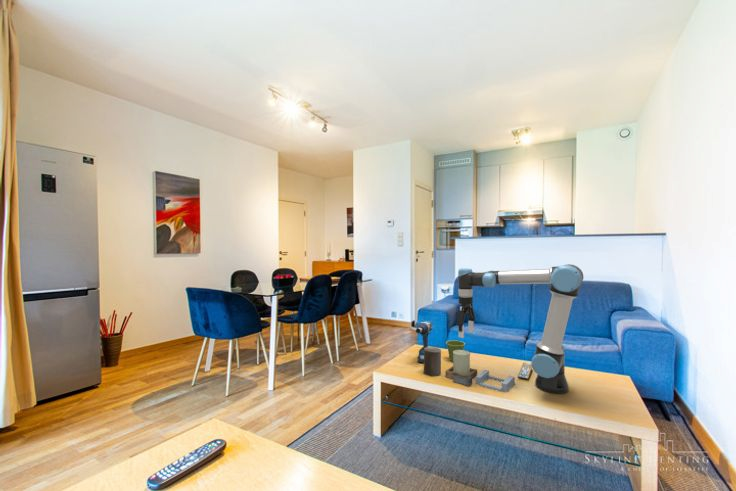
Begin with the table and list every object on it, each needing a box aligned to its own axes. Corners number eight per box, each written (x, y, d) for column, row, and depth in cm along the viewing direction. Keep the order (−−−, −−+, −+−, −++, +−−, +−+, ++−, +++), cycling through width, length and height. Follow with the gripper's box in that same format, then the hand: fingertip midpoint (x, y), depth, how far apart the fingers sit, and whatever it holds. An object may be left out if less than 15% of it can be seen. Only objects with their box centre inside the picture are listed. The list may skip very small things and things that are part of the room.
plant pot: (453, 356, 224) (453, 339, 224) (468, 361, 215) (468, 343, 215) (441, 360, 216) (441, 342, 216) (457, 365, 207) (457, 346, 207)
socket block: (515, 383, 180) (515, 376, 180) (506, 393, 168) (506, 385, 168) (485, 376, 190) (485, 369, 190) (474, 384, 178) (474, 377, 178)
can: (457, 368, 196) (457, 348, 196) (472, 372, 190) (472, 351, 190) (450, 373, 189) (449, 351, 189) (465, 377, 183) (465, 355, 183)
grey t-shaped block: (472, 383, 179) (472, 377, 179) (469, 386, 176) (469, 379, 176) (456, 379, 184) (456, 372, 184) (452, 381, 181) (452, 375, 181)
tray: (477, 375, 190) (477, 369, 190) (467, 383, 180) (467, 376, 180) (455, 370, 198) (455, 364, 198) (445, 377, 188) (445, 370, 188)
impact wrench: (411, 366, 205) (411, 325, 205) (423, 355, 225) (423, 318, 225) (424, 368, 201) (424, 326, 201) (435, 357, 221) (435, 319, 221)
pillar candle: (425, 376, 190) (426, 349, 189) (422, 370, 199) (422, 344, 199) (442, 376, 190) (443, 349, 190) (438, 370, 200) (439, 344, 200)
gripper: (468, 293, 200) (468, 329, 200) (449, 298, 181) (450, 338, 181) (480, 294, 196) (481, 331, 195) (462, 299, 176) (463, 340, 176)
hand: (466, 334), depth 188 cm, fingers open, 13 cm apart
